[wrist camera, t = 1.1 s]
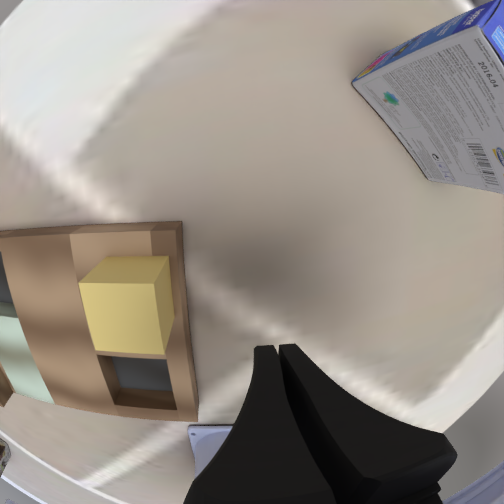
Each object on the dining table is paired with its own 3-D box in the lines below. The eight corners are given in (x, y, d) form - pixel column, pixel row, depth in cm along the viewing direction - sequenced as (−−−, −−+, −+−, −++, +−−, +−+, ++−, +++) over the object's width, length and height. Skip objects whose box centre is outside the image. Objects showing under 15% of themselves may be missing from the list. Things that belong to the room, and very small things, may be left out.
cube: (174, 316, 18) (164, 354, 14) (116, 314, 17) (95, 350, 13) (168, 255, 16) (153, 283, 13) (106, 256, 16) (78, 282, 12)
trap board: (198, 401, 23) (196, 444, 18) (17, 376, 21) (-3, 404, 16) (181, 221, 18) (167, 242, 14) (-29, 233, 16) (-64, 250, 12)
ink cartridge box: (460, 141, 18) (605, 159, 5) (429, 184, 19) (589, 231, 5) (388, 45, 16) (534, -18, 2) (348, 84, 16) (520, 13, 3)
